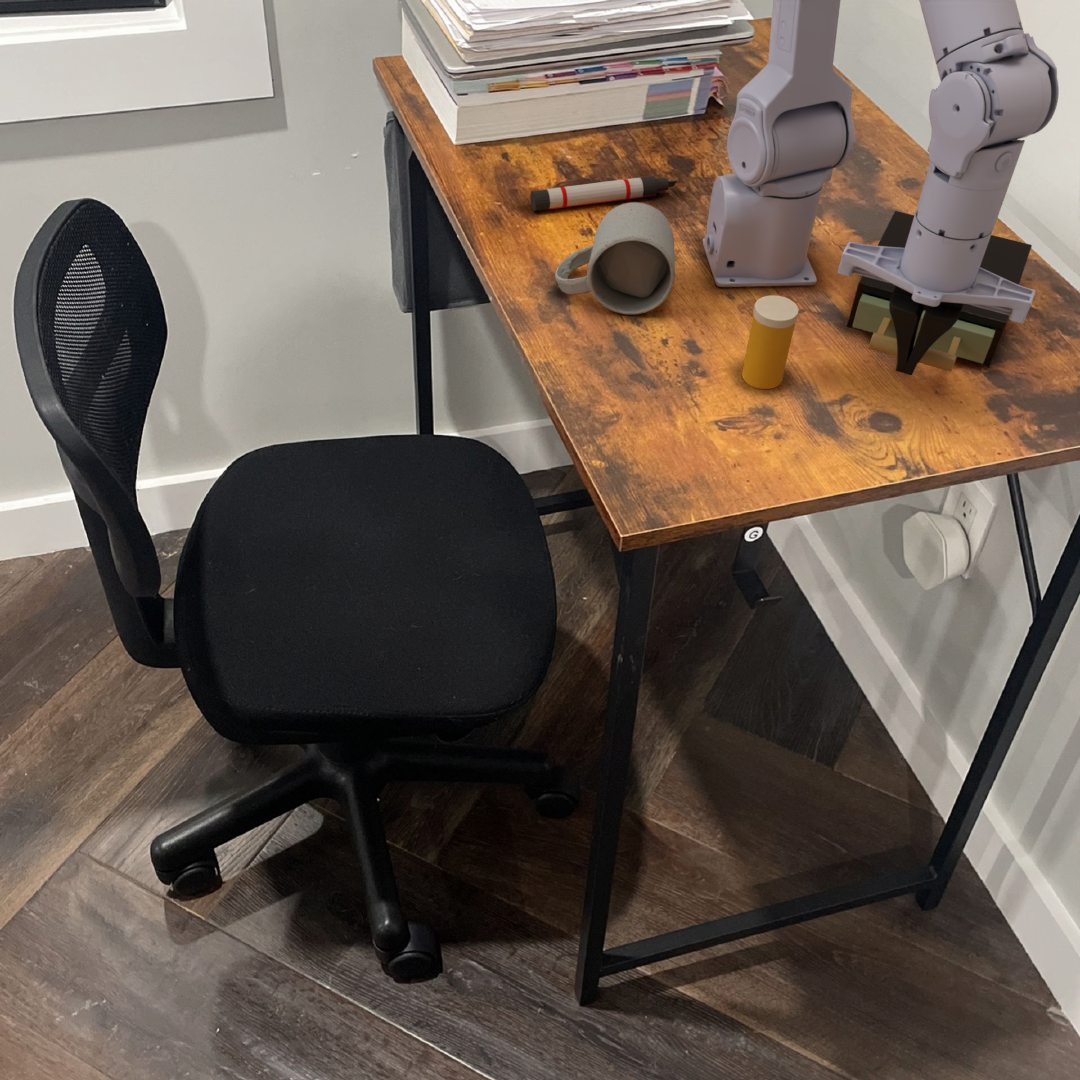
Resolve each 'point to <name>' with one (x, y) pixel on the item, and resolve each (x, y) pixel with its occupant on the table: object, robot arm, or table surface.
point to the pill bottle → (769, 341)
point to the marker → (598, 192)
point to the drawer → (956, 342)
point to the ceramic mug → (625, 261)
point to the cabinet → (998, 259)
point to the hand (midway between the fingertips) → (906, 366)
